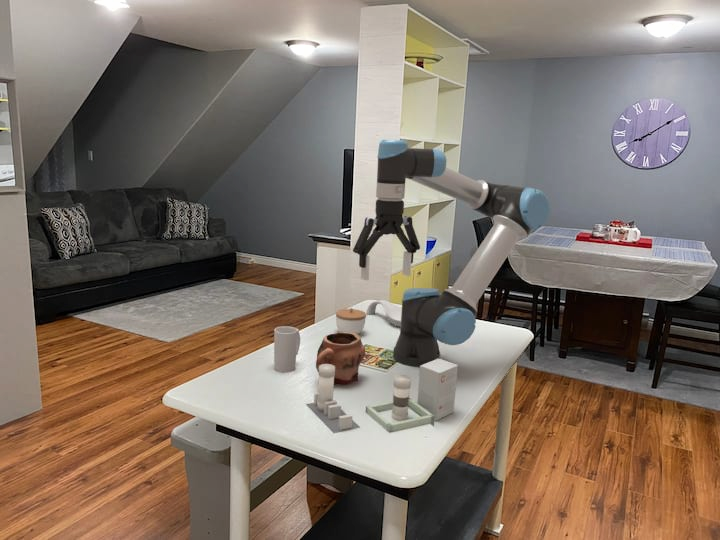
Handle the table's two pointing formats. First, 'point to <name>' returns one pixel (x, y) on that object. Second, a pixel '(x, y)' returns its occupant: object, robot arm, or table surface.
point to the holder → (330, 403)
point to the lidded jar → (350, 320)
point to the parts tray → (423, 419)
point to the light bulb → (401, 397)
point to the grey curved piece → (387, 311)
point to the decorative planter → (342, 356)
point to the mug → (286, 348)
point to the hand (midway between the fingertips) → (385, 277)
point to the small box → (437, 387)
